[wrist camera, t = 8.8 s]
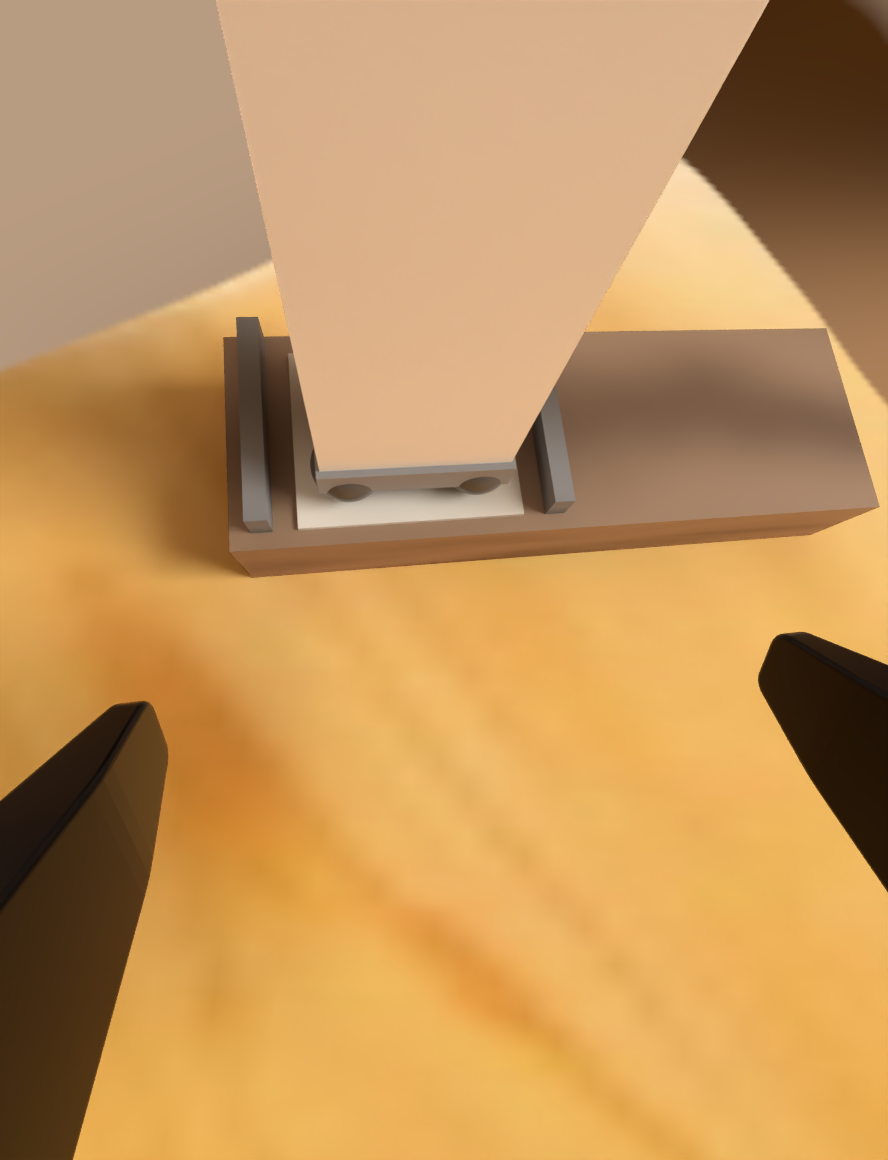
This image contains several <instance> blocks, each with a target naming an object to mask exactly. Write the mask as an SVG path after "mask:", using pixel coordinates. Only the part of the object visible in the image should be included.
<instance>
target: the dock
mask: <svg viewBox="0 0 888 1160" xmlns="http://www.w3.org/2000/svg"><path fill="white" fill-rule="evenodd" d="M236 324H237V337H223V339H224V375H225V411H226V447H227V483H228V519H229V552H230V553H231V554H232V555H233V557H234V558H235V559H236V560H237V561H238V562H239V563H240V564H241V566H242V567H243V568H244V569H245V570H246V571H247V572H248V573H249V574H250V576H251V577H265V576H278V575H291V574H304V573H317V572H330V571H343V570H356V569H369V568H382V567H395V566H408V565H422V564H435V563H448V562H461V561H474V560H487V559H500V558H513V557H526V556H539V555H552V554H565V553H578V552H591V551H604V550H618V549H631V548H644V547H657V546H670V545H683V544H696V543H709V542H722V541H735V540H748V539H761V538H774V537H787V536H800V535H811V534H814V533H816V532H819V531H821V530H823V529H826V528H828V527H831V526H833V525H836V524H838V523H841V522H843V521H846V520H848V519H851V518H853V517H856V516H858V515H861V514H863V513H865V512H868V511H870V510H873V509H875V508H878V507H880V506H879V503H878V500H877V496H876V493H875V490H874V486H873V483H872V480H871V476H870V473H869V470H868V466H867V463H866V460H865V456H864V453H863V450H862V446H861V443H860V440H859V436H858V433H857V430H856V426H855V423H854V420H853V416H852V413H851V410H850V406H849V403H848V400H847V396H846V393H845V390H844V386H843V383H842V380H841V376H840V373H839V370H838V366H837V363H836V360H835V356H834V353H833V350H832V346H831V343H830V340H829V336H828V333H827V330H826V328H819V329H752V330H685V331H618V332H584V334H583V335H582V337H581V339H580V341H579V342H578V344H577V346H576V348H575V350H574V351H573V353H572V355H571V357H570V359H569V360H568V362H567V364H566V366H565V368H564V369H563V371H562V373H561V375H560V377H559V378H558V380H557V382H556V384H555V386H554V387H553V389H552V391H551V393H550V394H549V396H548V398H547V400H546V402H545V403H544V405H543V407H542V409H541V411H540V412H539V414H538V416H537V418H536V420H535V421H534V423H533V425H532V427H531V429H530V430H529V432H528V434H527V436H526V438H525V439H524V441H523V443H522V445H521V446H520V448H519V450H518V452H517V454H516V455H515V463H516V471H515V472H514V474H513V476H512V477H511V479H510V481H509V482H508V484H501V485H500V486H499V487H497V488H496V489H495V490H493V491H491V492H489V493H485V494H481V495H471V494H466V493H463V492H461V491H459V490H457V489H456V488H455V487H445V488H427V489H410V490H392V491H374V492H373V493H372V494H371V495H370V496H368V497H366V498H365V499H363V500H360V501H356V502H341V501H337V500H334V499H332V498H330V497H328V496H327V495H325V494H319V490H318V486H317V485H316V483H315V482H314V479H313V477H312V474H311V469H310V458H311V453H312V450H313V448H314V445H313V440H312V436H311V431H310V427H309V422H308V417H307V413H306V408H305V404H304V399H303V395H302V390H301V386H300V381H299V377H298V372H297V368H296V363H295V358H294V354H293V349H292V345H291V340H290V336H282V337H264V336H263V333H262V330H261V326H260V323H259V319H258V317H236Z"/></svg>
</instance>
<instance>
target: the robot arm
mask: <svg viewBox="0 0 888 1160" xmlns="http://www.w3.org/2000/svg"><path fill="white" fill-rule="evenodd" d="M758 683H759V687H760V690H761V692H762V694H763V696H764V698H765V699H766V701H767V703H768V705H769V707H770V708H771V710H772V712H773V714H774V716H775V717H776V719H777V721H778V723H779V725H780V726H781V728H782V730H783V732H784V733H785V735H786V737H787V739H788V741H789V742H790V744H791V746H792V748H793V750H794V751H795V753H796V755H797V757H798V758H799V760H800V762H801V764H802V766H803V767H804V769H805V771H806V772H807V774H808V776H809V777H810V779H811V781H812V782H813V784H814V785H815V787H816V788H817V790H818V791H819V793H820V794H821V796H822V797H823V799H824V800H825V802H826V803H827V804H828V806H829V807H830V809H831V810H832V812H833V813H834V815H835V816H836V818H837V819H838V820H839V822H840V823H841V825H842V826H843V828H844V829H845V831H846V832H847V834H848V835H849V837H850V838H851V839H852V841H853V842H854V844H855V845H856V847H857V848H858V850H859V851H860V853H861V854H862V855H863V857H864V858H865V860H866V861H867V863H868V864H869V866H870V867H871V869H872V870H873V871H874V873H875V874H876V876H877V877H878V879H879V880H880V882H881V883H882V885H883V886H884V888H885V889H886V890H887V892H888V665H887V664H884V663H882V662H879V661H877V660H874V659H872V658H869V657H867V656H864V655H862V654H859V653H857V652H854V651H852V650H849V649H847V648H844V647H842V646H839V645H837V644H834V643H832V642H829V641H827V640H824V639H822V638H819V637H817V636H814V635H812V634H809V633H806V632H795V633H785V634H780V635H778V636H776V637H775V638H774V639H773V641H772V642H771V645H770V647H769V650H768V652H767V655H766V657H765V660H764V662H763V664H762V667H761V669H760V672H759V675H758ZM167 765H168V748H167V743H166V741H165V738H164V735H163V732H162V730H161V727H160V724H159V721H158V719H157V716H156V713H155V710H154V708H153V706H152V705H151V704H150V703H149V702H146V701H138V702H129V703H120V704H116V705H113V706H112V707H110V708H109V709H107V710H106V711H105V712H104V713H103V714H102V715H100V716H99V717H98V718H97V719H96V720H95V721H93V722H92V723H91V724H90V725H89V726H88V727H86V728H85V729H84V730H83V731H82V732H81V733H79V734H78V735H77V736H76V737H75V738H73V739H72V740H71V741H70V742H69V743H68V744H66V745H65V746H64V747H63V748H62V749H61V750H59V751H58V752H57V753H56V754H55V755H54V756H52V757H51V758H50V759H49V760H48V761H46V762H45V763H44V764H43V765H42V766H41V767H39V768H38V769H37V770H36V771H35V772H34V773H32V774H31V775H30V776H29V777H28V778H27V779H25V780H24V781H23V782H22V783H21V784H19V785H18V786H17V787H16V788H15V789H14V790H12V791H11V792H10V793H9V794H8V795H7V796H5V797H4V798H3V799H2V800H1V801H0V1160H73V1157H74V1154H75V1150H76V1146H77V1143H78V1139H79V1135H80V1132H81V1128H82V1124H83V1121H84V1117H85V1113H86V1110H87V1106H88V1102H89V1099H90V1095H91V1091H92V1088H93V1084H94V1080H95V1077H96V1073H97V1069H98V1066H99V1062H100V1058H101V1055H102V1051H103V1047H104V1044H105V1040H106V1036H107V1033H108V1029H109V1025H110V1022H111V1018H112V1015H113V1011H114V1007H115V1004H116V1000H117V996H118V993H119V989H120V985H121V982H122V978H123V974H124V971H125V967H126V963H127V960H128V956H129V952H130V949H131V945H132V941H133V938H134V934H135V930H136V927H137V923H138V919H139V916H140V912H141V908H142V905H143V901H144V897H145V893H146V889H147V885H148V881H149V877H150V872H151V866H152V861H153V855H154V848H155V842H156V835H157V829H158V823H159V816H160V810H161V803H162V797H163V790H164V784H165V778H166V771H167Z"/></svg>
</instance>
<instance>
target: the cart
mask: <svg viewBox="0 0 888 1160" xmlns="http://www.w3.org/2000/svg"><path fill="white" fill-rule="evenodd" d="M768 2H769V0H216V4H217V9H218V13H219V18H220V23H221V27H222V32H223V36H224V41H225V45H226V50H227V54H228V59H229V63H230V68H231V73H232V77H233V82H234V86H235V90H236V95H237V100H238V104H239V109H240V113H241V118H242V122H243V127H244V131H245V136H246V140H247V145H248V149H249V154H250V159H251V163H252V168H253V172H254V177H255V181H256V186H257V191H258V195H259V199H260V204H261V208H262V213H263V218H264V222H265V227H266V231H267V236H268V240H269V245H270V249H271V254H272V259H273V263H274V268H275V272H276V277H277V281H278V286H279V290H280V295H281V299H282V304H283V309H284V313H285V318H286V322H287V327H288V331H289V336H290V340H291V345H292V349H293V354H294V358H295V363H296V368H297V372H298V377H299V381H300V386H301V390H302V395H303V399H304V404H305V408H306V413H307V417H308V422H309V427H310V431H311V436H312V440H313V445H314V448H313V450H312V453H311V458H310V469H311V474H312V477H313V479H314V482H315V483H316V485H317V486H318V490H319V494H325V495H327V496H328V497H330V498H332V499H334V500H337V501H341V502H356V501H360V500H363V499H365V498H366V497H368V496H370V495H371V494H372V493H373V492H374V491H392V490H410V489H427V488H445V487H455V488H456V489H457V490H459V491H461V492H463V493H466V494H471V495H481V494H485V493H489V492H491V491H493V490H495V489H496V488H497V487H499V486H500V485H501V484H508V482H509V481H510V479H511V477H512V476H513V474H514V472H515V471H516V463H515V455H516V454H517V452H518V450H519V448H520V446H521V445H522V443H523V441H524V439H525V438H526V436H527V434H528V432H529V430H530V429H531V427H532V425H533V423H534V421H535V420H536V418H537V416H538V414H539V412H540V411H541V409H542V407H543V405H544V403H545V402H546V400H547V398H548V396H549V394H550V393H551V391H552V389H553V387H554V386H555V384H556V382H557V380H558V378H559V377H560V375H561V373H562V371H563V369H564V368H565V366H566V364H567V362H568V360H569V359H570V357H571V355H572V353H573V351H574V350H575V348H576V346H577V344H578V342H579V341H580V339H581V337H582V335H583V334H584V332H585V330H586V328H587V326H588V325H589V323H590V321H591V319H592V317H593V316H594V314H595V312H596V310H597V308H598V307H599V305H600V303H601V301H602V299H603V298H604V296H605V294H606V292H607V290H608V289H609V287H610V285H611V283H612V282H613V280H614V278H615V276H616V274H617V273H618V271H619V269H620V267H621V265H622V264H623V262H624V260H625V258H626V256H627V255H628V253H629V251H630V249H631V247H632V246H633V244H634V242H635V240H636V238H637V237H638V235H639V233H640V231H641V230H642V228H643V226H644V224H645V222H646V221H647V219H648V217H649V215H650V213H651V212H652V210H653V208H654V206H655V204H656V203H657V201H658V199H659V197H660V195H661V194H662V192H663V190H664V188H665V186H666V185H667V183H668V181H669V179H670V177H671V176H672V174H673V172H674V170H675V169H676V167H677V165H678V163H679V161H680V160H681V158H682V156H683V154H684V152H685V151H686V149H687V147H688V145H689V143H690V142H691V140H692V138H693V136H694V134H695V132H696V131H697V129H698V127H699V125H700V124H701V122H702V120H703V118H704V116H705V115H706V113H707V111H708V109H709V108H710V106H711V104H712V102H713V100H714V99H715V97H716V95H717V93H718V91H719V90H720V88H721V86H722V84H723V82H724V81H725V79H726V77H727V75H728V73H729V72H730V70H731V68H732V66H733V65H734V63H735V61H736V59H737V57H738V56H739V54H740V52H741V50H742V48H743V46H744V45H745V43H746V41H747V39H748V38H749V36H750V34H751V32H752V30H753V29H754V27H755V25H756V23H757V21H758V20H759V18H760V16H761V14H762V12H763V11H764V9H765V7H766V5H767V4H768Z"/></svg>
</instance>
